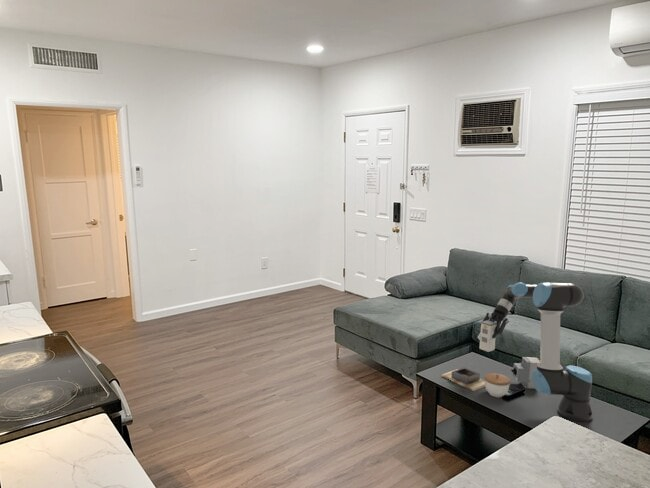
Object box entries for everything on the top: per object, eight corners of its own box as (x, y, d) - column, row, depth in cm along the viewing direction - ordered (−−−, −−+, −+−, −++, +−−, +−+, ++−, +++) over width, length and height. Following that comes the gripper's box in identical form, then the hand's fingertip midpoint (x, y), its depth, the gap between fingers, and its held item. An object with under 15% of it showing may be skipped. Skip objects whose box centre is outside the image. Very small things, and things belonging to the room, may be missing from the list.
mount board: (489, 384, 260) (489, 382, 260) (473, 391, 252) (473, 389, 252) (457, 370, 278) (457, 369, 278) (441, 376, 270) (441, 374, 270)
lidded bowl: (514, 398, 245) (515, 378, 244) (493, 401, 241) (495, 381, 240) (498, 387, 257) (499, 368, 255) (478, 390, 253) (480, 371, 252)
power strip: (494, 349, 269) (496, 322, 266) (487, 352, 265) (489, 324, 263) (485, 346, 274) (487, 320, 271) (478, 348, 270) (480, 322, 268)
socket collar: (479, 379, 264) (479, 373, 263) (467, 384, 257) (467, 378, 257) (463, 372, 272) (464, 367, 272) (451, 377, 266) (451, 371, 266)
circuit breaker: (509, 381, 265) (511, 356, 262) (534, 382, 264) (537, 357, 262) (513, 387, 257) (516, 361, 255) (540, 388, 257) (542, 362, 254)
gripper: (520, 316, 268) (500, 349, 261) (491, 308, 283) (472, 339, 276) (515, 308, 264) (495, 341, 257) (486, 300, 279) (467, 332, 272)
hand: (483, 340), depth 266 cm, fingers closed on power strip, 6 cm apart
